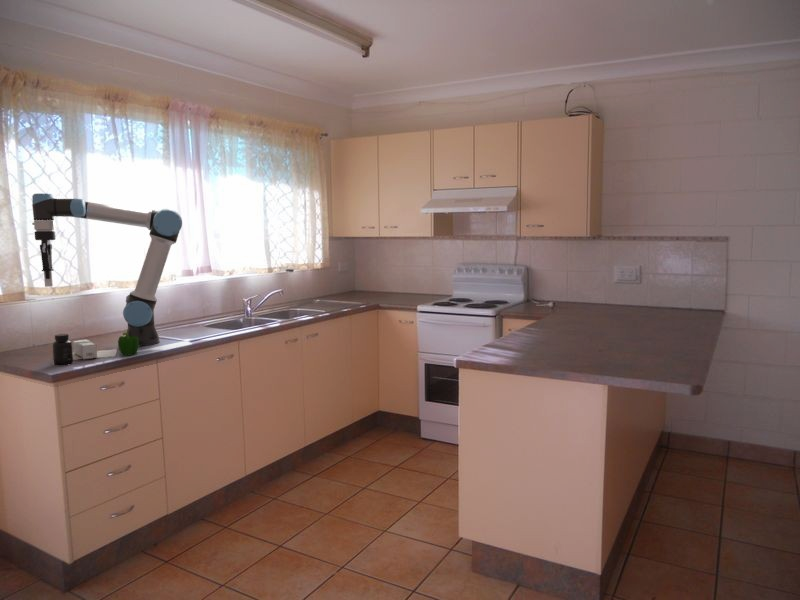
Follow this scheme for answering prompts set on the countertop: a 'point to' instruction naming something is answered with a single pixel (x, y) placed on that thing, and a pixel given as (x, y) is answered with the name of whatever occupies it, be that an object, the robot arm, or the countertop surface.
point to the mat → (101, 354)
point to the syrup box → (85, 349)
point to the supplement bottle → (62, 350)
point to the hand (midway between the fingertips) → (48, 286)
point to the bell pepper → (128, 344)
